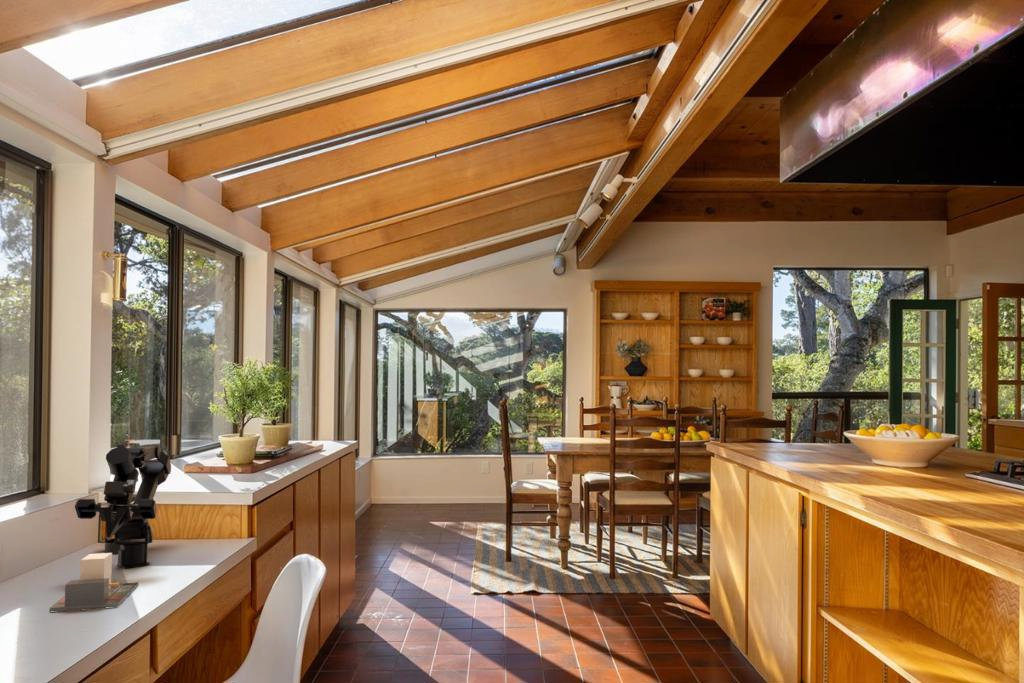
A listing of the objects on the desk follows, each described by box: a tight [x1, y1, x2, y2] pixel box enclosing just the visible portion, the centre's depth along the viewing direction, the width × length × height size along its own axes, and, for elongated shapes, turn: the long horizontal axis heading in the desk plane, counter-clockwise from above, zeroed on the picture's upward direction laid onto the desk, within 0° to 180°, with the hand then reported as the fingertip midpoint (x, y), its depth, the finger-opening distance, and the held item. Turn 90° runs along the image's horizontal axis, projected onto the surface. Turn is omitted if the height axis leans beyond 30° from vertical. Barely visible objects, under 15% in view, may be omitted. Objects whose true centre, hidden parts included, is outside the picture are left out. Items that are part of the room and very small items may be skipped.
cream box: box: [79, 552, 120, 592], centre depth 170 cm, size 6×10×9 cm, turn 105°
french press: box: [97, 493, 137, 555], centre depth 221 cm, size 12×9×23 cm
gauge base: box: [49, 578, 139, 613], centre depth 171 cm, size 18×14×6 cm
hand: (108, 536), depth 182 cm, fingers closed
